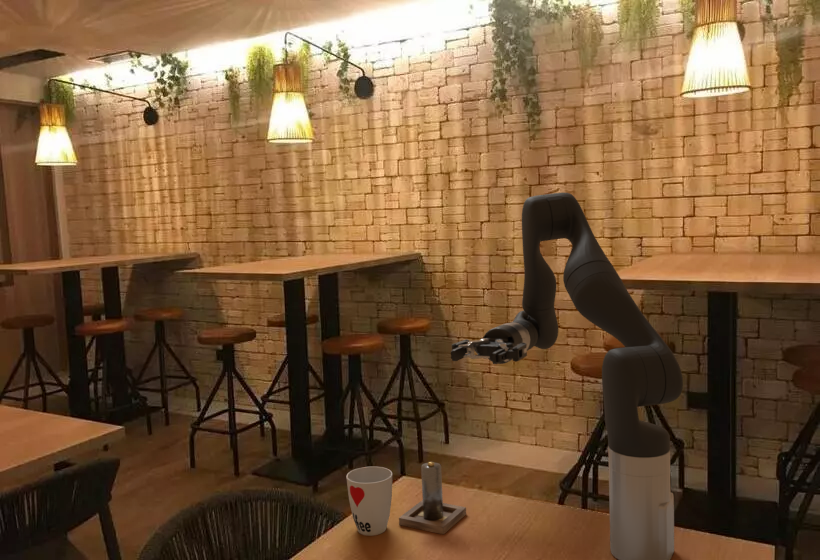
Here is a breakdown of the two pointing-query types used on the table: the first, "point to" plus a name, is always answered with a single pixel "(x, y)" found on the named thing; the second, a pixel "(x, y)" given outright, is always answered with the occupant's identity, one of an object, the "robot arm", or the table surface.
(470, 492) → the table surface
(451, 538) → the table surface
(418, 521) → the bay
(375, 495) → the cup
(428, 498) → the cell
